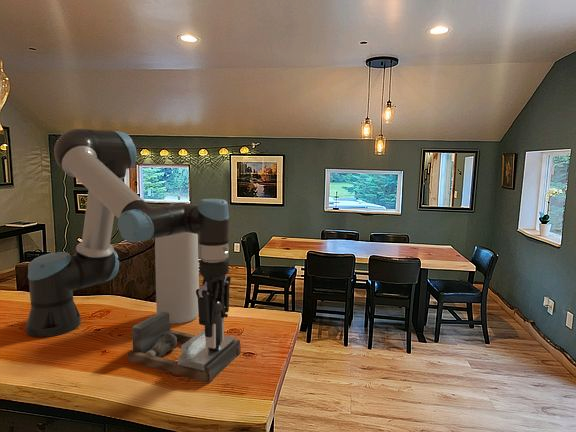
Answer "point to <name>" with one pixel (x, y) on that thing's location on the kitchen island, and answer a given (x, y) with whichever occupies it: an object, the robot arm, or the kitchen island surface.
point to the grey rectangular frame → (160, 323)
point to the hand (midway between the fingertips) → (214, 343)
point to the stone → (163, 345)
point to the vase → (177, 276)
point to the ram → (195, 348)
